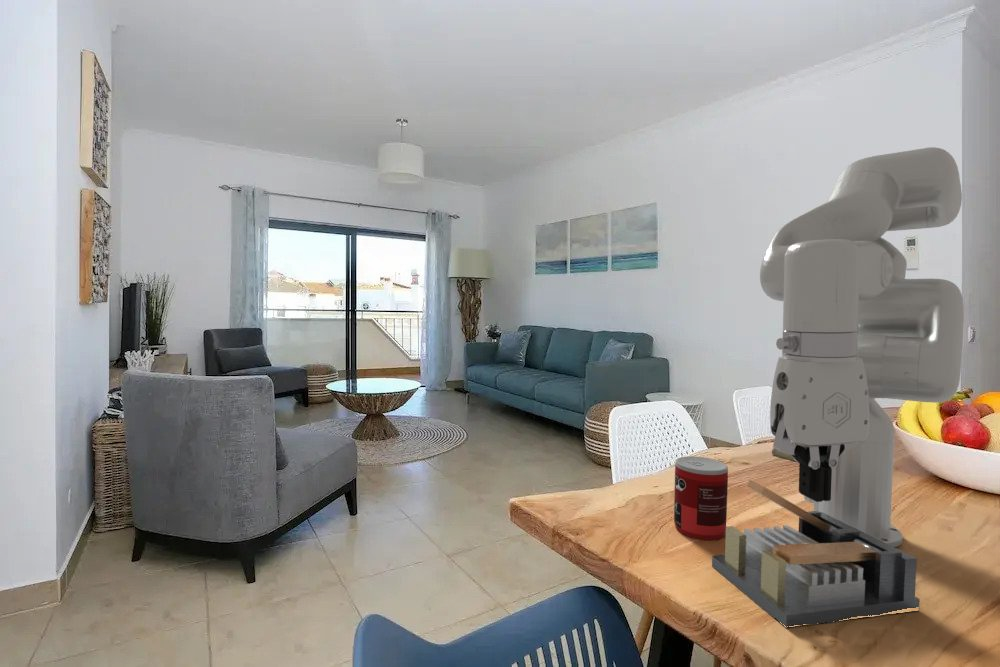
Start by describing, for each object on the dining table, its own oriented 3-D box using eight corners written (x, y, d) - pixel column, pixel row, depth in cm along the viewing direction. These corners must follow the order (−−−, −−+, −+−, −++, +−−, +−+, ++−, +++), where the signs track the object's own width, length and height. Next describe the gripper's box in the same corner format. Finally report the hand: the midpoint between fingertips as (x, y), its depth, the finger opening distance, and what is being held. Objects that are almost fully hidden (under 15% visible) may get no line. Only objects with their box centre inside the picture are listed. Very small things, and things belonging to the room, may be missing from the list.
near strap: (769, 552, 63) (770, 542, 63) (860, 548, 65) (860, 538, 65) (792, 567, 59) (793, 557, 59) (887, 562, 62) (888, 552, 62)
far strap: (743, 485, 70) (748, 477, 70) (814, 526, 72) (818, 519, 72) (763, 495, 66) (767, 487, 66) (836, 538, 69) (840, 530, 69)
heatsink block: (711, 566, 71) (713, 516, 71) (823, 555, 75) (825, 508, 74) (786, 628, 58) (788, 567, 57) (919, 611, 61) (921, 553, 61)
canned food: (683, 516, 89) (684, 453, 88) (732, 529, 83) (734, 462, 83) (666, 531, 83) (667, 463, 82) (717, 545, 78) (719, 474, 77)
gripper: (786, 352, 56) (782, 516, 57) (901, 346, 58) (895, 503, 60) (741, 345, 63) (739, 491, 64) (845, 340, 66) (841, 480, 67)
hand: (814, 496), depth 62 cm, fingers closed
